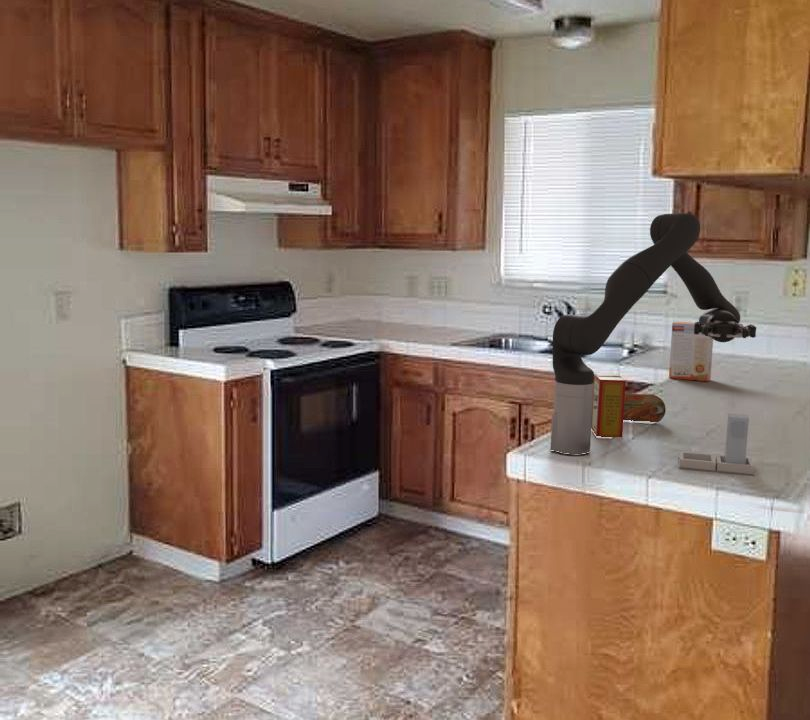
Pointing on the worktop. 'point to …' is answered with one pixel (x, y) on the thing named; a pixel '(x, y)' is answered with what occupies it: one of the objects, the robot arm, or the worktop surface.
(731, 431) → the plug
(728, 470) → the grey divided tray
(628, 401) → the tin
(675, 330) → the cracker box
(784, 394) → the worktop surface
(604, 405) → the baking soda box
